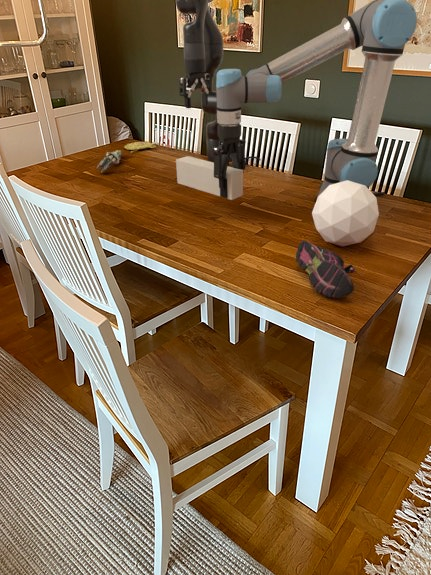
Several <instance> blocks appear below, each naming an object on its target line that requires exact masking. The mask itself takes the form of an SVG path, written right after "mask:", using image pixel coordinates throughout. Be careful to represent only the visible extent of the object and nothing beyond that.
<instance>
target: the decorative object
mask: <svg viewBox="0 0 431 575" xmlns="http://www.w3.org/2000/svg"><path fill="white" fill-rule="evenodd" d="M148 148H151V149H153V148H157V142H155V141H153V142H147V141H136V142H130V143H126V144H125V145H124V149H126V150H130V154H132V153H134V152H137V151H139V150H143V149H148Z"/></svg>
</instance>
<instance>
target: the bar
mask: <svg viewBox="0 0 431 575" xmlns="http://www.w3.org/2000/svg"><path fill="white" fill-rule="evenodd" d="M175 166H176V181H177V184H179V185H182V186H186V187H188V188H191V189H195V190H198V191H202V192H204V193H208V194H211V195H214V196H218V197H221V196H220V188H219V179H218V178H215V177H214V163H213V162H209V161H207V160H205V159H201V158H196V157H193V156H189V155H186V156H183V157H180V158H176V159H175ZM243 171H244V170H241V169H237V168H234V167H233V166H230V165H229V166H227V171H226V177H225V178H226V179H227V198H226V199H227V200H230V201H233V200H236V199H238V198H241V197H242V196H244V172H243ZM221 198H222V197H221Z"/></svg>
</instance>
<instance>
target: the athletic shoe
mask: <svg viewBox="0 0 431 575" xmlns="http://www.w3.org/2000/svg"><path fill="white" fill-rule="evenodd" d="M295 261H296V263H297V265H298V267H299V268H301V269H302V271H305V272H307V273H308V276H309V277H308V279H309V282H310V284H311V286H312V287H313V288H315V289H314V290H315V291H316V292H318V294H320V295H322V296H325V297H327V298H333V299H339V298H343V297H348V296H350V295H351V294H353V292H354V290H355V286H354V283H353V281H352V279H351V277H350V276H349V274H353V273H357V271H356V270H355V267H354V266H353V265H352V264H349V265H347V266H345V261H344V259H343V258H342V256H340V255H339V254H337V253H335V252H334V251H331V250H329V249H326V248H323V247H320V246H318V245H315V244H313V243H312V242H310V241H308V240H301V242H299V245H298V247H297V251H296V252H295Z"/></svg>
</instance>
